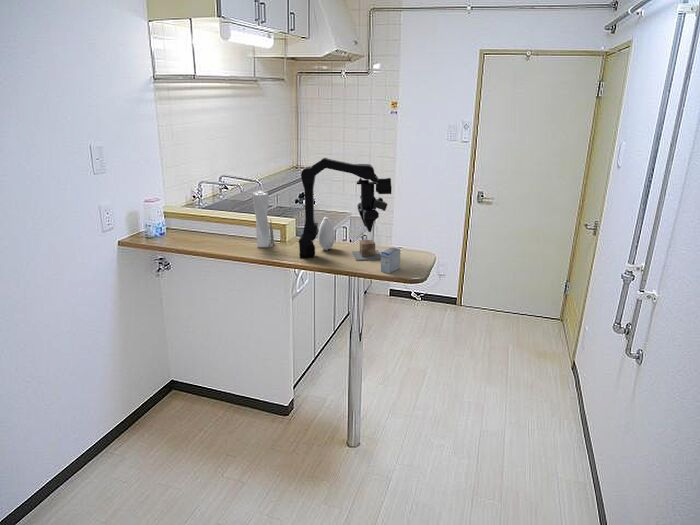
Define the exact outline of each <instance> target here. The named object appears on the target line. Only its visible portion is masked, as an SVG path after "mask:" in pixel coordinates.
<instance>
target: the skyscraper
mask: <svg viewBox="0 0 700 525" xmlns="http://www.w3.org/2000/svg"><path fill="white" fill-rule="evenodd" d="M252 203H253V211H254V215H255V225H256V226H255V229H256V230H255V232H256V245H257V249H267V248H268V249H272V248H273V247H274V245H275V244H274V243H275V240H274V227H273V222H272V219H271V218H270V220H269V219H268V212H269V193H268V191H267V190H265V189H257V191H252ZM269 221H270V222H269ZM269 223H270V225H269Z"/></svg>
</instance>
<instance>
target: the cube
mask: <svg viewBox="0 0 700 525" xmlns="http://www.w3.org/2000/svg"><path fill="white" fill-rule="evenodd" d="M375 250H376V242H375V241H374V239H364V240H363V239H362V240H359V251H360V254H361V256H362V257H373V256H375Z"/></svg>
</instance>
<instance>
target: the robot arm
mask: <svg viewBox="0 0 700 525" xmlns="http://www.w3.org/2000/svg"><path fill="white" fill-rule="evenodd" d="M326 169H329V170H333V171H338V172H341V173H342V172H343V173H348V174H352V175H355V176H357V177H359V179H358V180H357V181H356V185H360V196H359V197H360V202H359V203H357V206H356V207H357V210H358V213H359V217H360V218H361V220H362V223H363V226H364V227H366V228H367V231H368V232H369V233H371V232H372V230H373V225H374V223H375V221H376V220H377V219H378V218H379V217H380V213H379V212H378V211H377V209H379V210H382V211H384V212H385V211H386V210H387V208H388V203H387V202H385V201H384V199H383V198H382V197H378V198H376V196H375V193H377V194H378V195H392V178H391V177H386V178H379V176H377V175H376V173H375V169H374V166H373V165H372V164H369V163H356V164H355V163H350V162H345V161H340V160H335V159H331V158H328V157H322V159H320V160H319V161H318V162H316V163H314V164H312V165H311V166H306V167H304V168H303V170H302V171H301V174H300V177H301V182H302V185H303V189H304V190H303V191H304V212H305V213H304V214H305V221H304V226H303V232H302V234H301V235H300V237H299V239H298V241H297V242H298V245H299V247H298V249H299V253H298V255H299V258H300V259H308V258H309V259H310V258H312V259H313V258H315V255H316V246H315V244H314V241H315V239H316V237H317V236H318V232H319V222H316V220H315V198H314V197H315V196H314V193H315V192H314V191H315V190H314V189H315V188H314V187H315V182H316V176H317V175H318V174H319V173H321V172H323V171H324V170H326Z"/></svg>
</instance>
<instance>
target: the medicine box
mask: <svg viewBox="0 0 700 525" xmlns="http://www.w3.org/2000/svg"><path fill="white" fill-rule="evenodd" d="M380 254H381V260H380V272H382V273H386V274H391V273H394V272H395V271H397V270H399V269H401V268H400V267H401V249H400V248H397V247H393V246H392V247H389V248H387V249H385V250H383V251H380Z"/></svg>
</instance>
